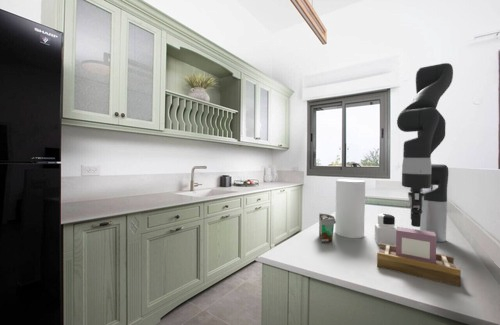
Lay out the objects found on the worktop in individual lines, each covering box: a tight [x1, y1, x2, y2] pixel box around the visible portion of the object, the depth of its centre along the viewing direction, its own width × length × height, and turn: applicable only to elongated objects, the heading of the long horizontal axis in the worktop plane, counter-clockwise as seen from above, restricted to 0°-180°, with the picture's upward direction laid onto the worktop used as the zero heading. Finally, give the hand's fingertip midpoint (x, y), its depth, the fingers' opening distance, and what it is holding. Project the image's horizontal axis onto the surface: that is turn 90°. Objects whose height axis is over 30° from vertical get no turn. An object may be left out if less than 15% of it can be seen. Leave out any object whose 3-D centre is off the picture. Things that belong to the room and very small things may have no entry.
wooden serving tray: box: [376, 243, 462, 287], centre depth 73 cm, size 11×20×4 cm, turn 56°
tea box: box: [396, 226, 437, 264], centre depth 73 cm, size 10×5×9 cm, turn 56°
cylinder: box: [334, 178, 366, 239], centre depth 108 cm, size 12×12×25 cm
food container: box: [318, 212, 336, 244], centre depth 99 cm, size 12×6×10 cm, turn 168°
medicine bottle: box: [374, 213, 397, 246], centre depth 95 cm, size 7×7×12 cm
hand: (415, 223), depth 73 cm, fingers open, 8 cm apart
